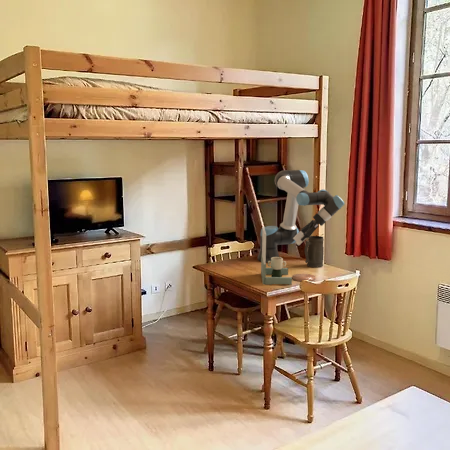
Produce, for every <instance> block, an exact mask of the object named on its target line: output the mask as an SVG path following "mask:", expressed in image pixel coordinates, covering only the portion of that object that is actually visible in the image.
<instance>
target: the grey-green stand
mask: <svg viewBox="0 0 450 450" xmlns="http://www.w3.org/2000/svg"><path fill="white" fill-rule="evenodd" d="M264 227H265V226H262V228H261V229H262V255H261V261H260V263H261V264H260V265H261V266H260V276H261V282H262V285H272V284H289V285H290V284H291V285H290V286H292V283H293V278H292V277H293V276H292V277H291V276H290V277H287V276H288V275H289V267H283V268H282V269H280V270H281V275H283V276H284V275H285V277H283V276H282V277H271V276H272V270H273V269H272V268H271V267H267V262H266V231H265V228H264ZM267 275H269V276H267ZM270 275H271V276H270ZM289 285H288V286H289Z"/></svg>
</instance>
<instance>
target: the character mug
mask: <svg viewBox="0 0 450 450" xmlns="http://www.w3.org/2000/svg"><path fill="white" fill-rule="evenodd" d="M286 265H287V261H285V260H284V258H283V257H281V256H279V257H272V258H271V261H268V262H267V266H268V267H270V268H272V269H273V270H272V275H271V276H270V277H283V276H282V275H281V270H280V269H282V268H286Z"/></svg>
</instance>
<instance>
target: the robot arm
mask: <svg viewBox="0 0 450 450" xmlns="http://www.w3.org/2000/svg"><path fill="white" fill-rule="evenodd" d="M274 185H275V186H276V188H278V189H279V190H281V191H285V192H286V193H287V194H286V195H287V196H286V202H285V206H284V207H285V208H284V213H283V221H282V222H281V223H280V224H279V227H278V226H277V225H267V226H263V227H264V228H265V231H266V263H268V261H271V258H272V257H280V255H279V251H278V246H279V245H291V244H296V245H297V246H300V245H301V244H302V243H303V242H305V240H307V239H309V237H310V236H312V235H313V233H314V232H316V230H317V229H318V228H319V225H320V227H323V225H324V224H326V222H327V221H329V220H331V219H332V217H333V216H335V214H336V213H337V212H338V211H340V210H341V209H342V207H343V206H345V201H344V200H343V199H342V197H340V196H339V195H334V196H333V195H332V194H331V193H330V192H329V191H327V189H320V190H318V191H317V192H311V191H310V192H309V191H308V190H306V189H305V188H307V187H308V185H309V175H308V173H307V172H306V170H303V169H302V170H301V169H293V170H292V169H291V170H289V169H287V170H286V169H284V170H281V171H279V172H277V174H276V175H275V176H274ZM317 205H318V206H319V205H320V206H321V205H323V207H322V208H320V210H318V212H317V213H315V214H314V215H313V216H312V218H313V219H312V220H310V222H309V223H307V224H306V225H304V226H303V227H302V228H301V229H300V231H299V228H298V227H297V225H296V221H297V216H298V210H299V206H302V207H303V206H304V207H305V206H317ZM259 245H260V247H259V248H260V250H259V252H258V255H257V261H259V262H261V255H262V228H261V229H260V243H259Z"/></svg>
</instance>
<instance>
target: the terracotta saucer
mask: <svg viewBox="0 0 450 450" xmlns="http://www.w3.org/2000/svg"><path fill="white" fill-rule="evenodd" d="M316 279H317V277H316V275H313V274H311V273H310V274H308V273H296V274H293V275H292V280H294V281H297V282H302V280H309V281H310V282H315V281H316Z"/></svg>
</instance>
